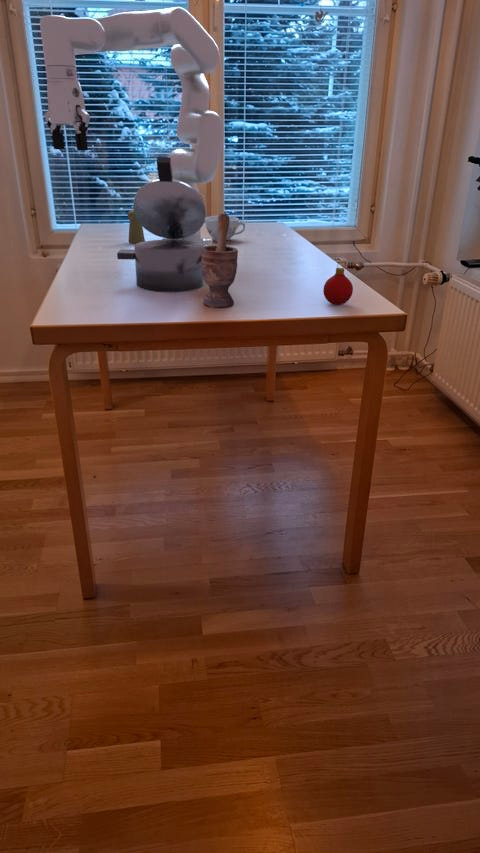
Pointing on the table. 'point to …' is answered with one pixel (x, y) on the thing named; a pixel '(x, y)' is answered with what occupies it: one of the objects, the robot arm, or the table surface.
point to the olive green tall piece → (135, 229)
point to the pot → (166, 264)
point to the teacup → (233, 225)
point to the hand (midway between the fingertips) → (70, 149)
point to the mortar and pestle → (219, 267)
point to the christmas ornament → (338, 288)
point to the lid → (169, 205)
